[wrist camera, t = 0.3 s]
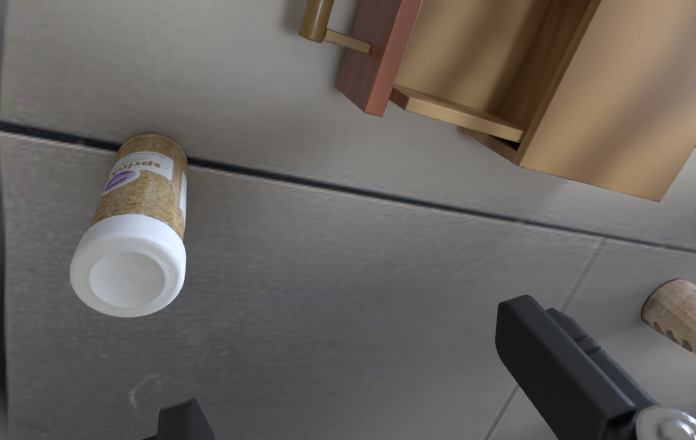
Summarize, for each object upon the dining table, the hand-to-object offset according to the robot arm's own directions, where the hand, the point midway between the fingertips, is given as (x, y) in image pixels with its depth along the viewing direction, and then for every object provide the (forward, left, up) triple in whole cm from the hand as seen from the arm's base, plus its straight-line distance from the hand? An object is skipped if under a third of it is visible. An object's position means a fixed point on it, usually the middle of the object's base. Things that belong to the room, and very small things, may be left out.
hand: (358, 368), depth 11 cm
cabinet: (-9, +23, -23) cm, 34 cm away
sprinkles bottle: (+5, -6, -23) cm, 25 cm away
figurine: (+11, +55, -23) cm, 61 cm away
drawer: (-9, +9, -22) cm, 26 cm away
